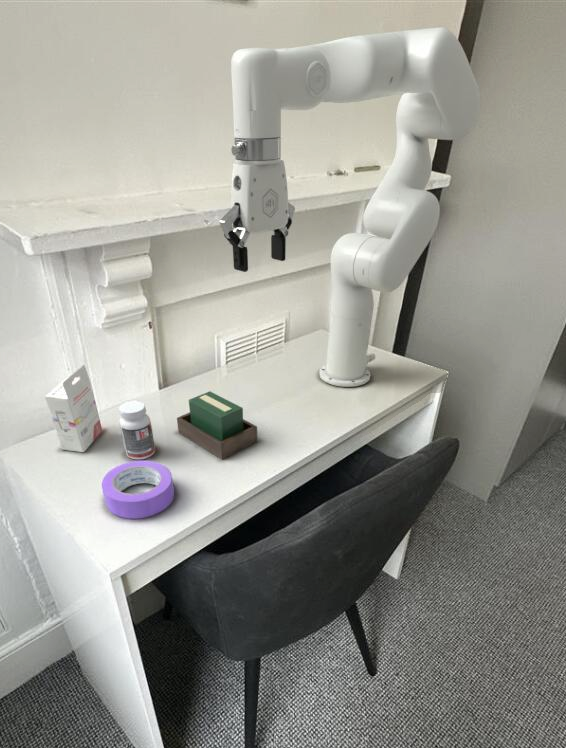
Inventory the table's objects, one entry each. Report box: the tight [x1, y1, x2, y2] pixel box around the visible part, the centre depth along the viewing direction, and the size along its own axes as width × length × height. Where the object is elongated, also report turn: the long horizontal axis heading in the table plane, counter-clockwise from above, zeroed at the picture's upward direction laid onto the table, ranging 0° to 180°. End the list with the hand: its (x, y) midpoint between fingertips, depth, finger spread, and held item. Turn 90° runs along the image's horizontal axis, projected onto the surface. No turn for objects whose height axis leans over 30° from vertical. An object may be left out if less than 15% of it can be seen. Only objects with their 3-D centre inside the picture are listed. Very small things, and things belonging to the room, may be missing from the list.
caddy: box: [176, 411, 258, 460], centre depth 100 cm, size 9×14×4 cm
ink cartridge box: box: [44, 364, 103, 453], centre depth 95 cm, size 9×5×15 cm, turn 168°
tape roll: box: [101, 460, 175, 520], centre depth 85 cm, size 12×12×4 cm
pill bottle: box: [118, 400, 156, 461], centre depth 94 cm, size 6×6×10 cm
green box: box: [188, 390, 244, 442], centre depth 99 cm, size 10×6×7 cm, turn 44°
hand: (260, 264), depth 92 cm, fingers open, 9 cm apart
